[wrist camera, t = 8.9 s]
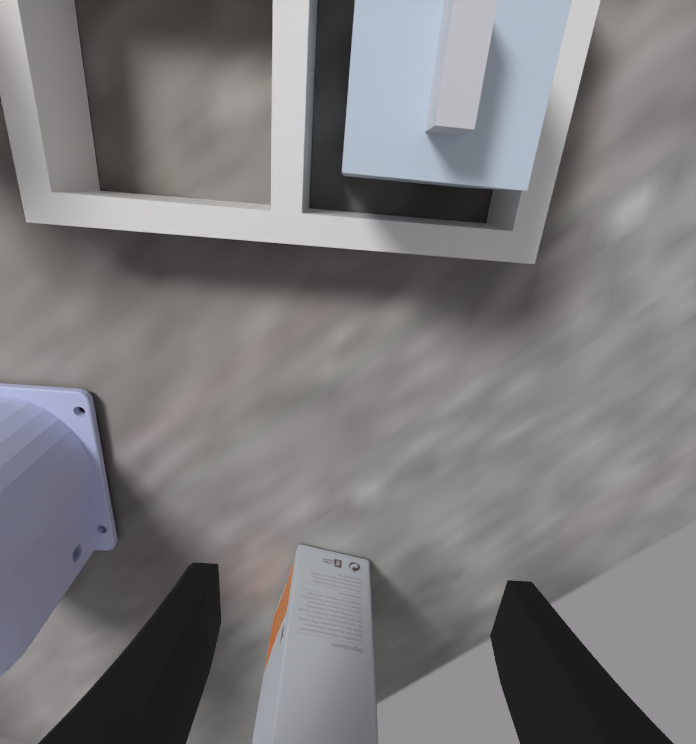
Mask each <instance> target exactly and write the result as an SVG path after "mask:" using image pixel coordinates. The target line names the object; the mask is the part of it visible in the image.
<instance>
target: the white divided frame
mask: <svg viewBox="0 0 696 744" xmlns="http://www.w3.org/2000/svg"><path fill="white" fill-rule="evenodd" d="M317 4H318V0H273V32H272V146H271V205H265V204H254V203H242V202H230V201H219V200H207V199H195V198H183V197H172V196H160V195H148V194H137V193H125V192H113V191H102V190H100V185H99V178H98V171H97V163H96V156H95V149H94V141H93V134H92V127H91V120H90V112H89V105H88V98H87V90H86V83H85V76H84V68H83V61H82V54H81V46H80V39H79V32H78V24H77V17H76V10H75V2H74V0H0V97H1V102H2V107H3V112H4V116H5V121H6V126H7V131H8V136H9V141H10V146H11V151H12V155H13V160H14V165H15V170H16V175H17V180H18V185H19V190H20V194H21V199H22V204H23V209H24V214H25V219H26V222H29V223H41V224H53V225H65V226H77V227H89V228H102V229H114V230H126V231H138V232H150V233H162V234H174V235H186V236H199V237H211V238H223V239H235V240H247V241H259V242H271V243H283V244H296V245H308V246H320V247H332V248H344V249H356V250H368V251H380V252H393V253H405V254H417V255H429V256H441V257H453V258H465V259H477V260H490V261H502V262H514V263H526V264H535V261H536V257H537V253H538V249H539V245H540V241H541V237H542V233H543V229H544V225H545V221H546V217H547V213H548V209H549V205H550V201H551V197H552V193H553V189H554V185H555V181H556V177H557V173H558V169H559V165H560V160H561V156H562V152H563V148H564V144H565V140H566V136H567V132H568V128H569V124H570V120H571V116H572V112H573V108H574V104H575V100H576V96H577V92H578V88H579V84H580V80H581V76H582V72H583V68H584V64H585V60H586V56H587V52H588V48H589V44H590V40H591V36H592V32H593V28H594V24H595V20H596V16H597V12H598V8H599V4H600V0H572V2H571V6H570V11H569V15H568V19H567V23H566V28H565V32H564V36H563V40H562V45H561V49H560V53H559V57H558V62H557V66H556V70H555V74H554V79H553V83H552V87H551V91H550V96H549V100H548V104H547V108H546V113H545V117H544V121H543V125H542V129H541V134H540V138H539V142H538V146H537V151H536V155H535V159H534V163H533V168H532V172H531V176H530V180H529V185H528V189H527V191H519V190H500V189H493V191H492V196H491V201H490V206H489V211H488V216H487V221H486V223H476V222H464V221H453V220H441V219H429V218H417V217H406V216H394V215H382V214H371V213H359V212H347V211H336V210H324V209H312V208H309V196H310V172H311V148H312V124H313V100H314V76H315V52H316V28H317Z"/></svg>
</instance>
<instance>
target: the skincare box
mask: <svg viewBox="0 0 696 744" xmlns="http://www.w3.org/2000/svg"><path fill="white" fill-rule="evenodd" d="M252 744H378V726H377V705H376V688H375V668H374V647H373V624H372V602H371V584H370V564H369V561H368V560H366V559H362V558H358V557H354V556H350V555H345V554H341V553H337V552H332V551H328V550H323V549H319V548H315V547H311V546H307V545H299V546H298V547H297V550H296V554H295V557H294V560H293V563H292V566H291V569H290V572H289V575H288V578H287V581H286V584H285V587H284V589H283V592H282V595H281V597H280V600H279V602H278V605H277V608H276V610H275V613H274V618H273V624H272V630H271V635H270V641H269V646H268V652H267V658H266V664H265V670H264V675H263V681H262V687H261V692H260V698H259V704H258V710H257V716H256V722H255V727H254V733H253V739H252Z"/></svg>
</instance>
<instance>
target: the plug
mask: <svg viewBox="0 0 696 744" xmlns="http://www.w3.org/2000/svg"><path fill="white" fill-rule="evenodd" d="M571 2H572V0H355V6H354V19H353V32H352V45H351V58H350V71H349V84H348V97H347V110H346V123H345V137H344V150H343V163H342V174H343V176H347V177H358V178H368V179H378V180H388V181H398V182H408V183H418V184H428V185H439V186H449V187H460V188H480V189H500V190H519V191H527V189H528V185H529V180H530V176H531V172H532V168H533V163H534V159H535V155H536V151H537V146H538V142H539V138H540V134H541V129H542V125H543V121H544V117H545V113H546V108H547V104H548V100H549V96H550V91H551V87H552V83H553V79H554V74H555V70H556V66H557V62H558V57H559V53H560V49H561V45H562V40H563V36H564V32H565V28H566V23H567V19H568V15H569V11H570V6H571Z"/></svg>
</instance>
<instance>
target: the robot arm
mask: <svg viewBox="0 0 696 744" xmlns="http://www.w3.org/2000/svg"><path fill="white" fill-rule="evenodd" d="M79 407H82V408H83V409H84V410H85V412H82V411H81V410H80V409H79ZM103 526H104V527H105V528H104V527H103ZM116 543H117V534H116V529H115V523H114V517H113V511H112V506H111V500H110V494H109V488H108V483H107V477H106V471H105V465H104V459H103V454H102V448H101V442H100V436H99V431H98V425H97V419H96V413H95V408H94V402H93V398H92V395H91V394H90V393H89V392H87V391H86V390H83V389H77V388H62V387H48V386H34V385H19V384H5V383H0V676H2V675H3V674H4V673H5V672H6V671H7V670H8V669H9V668H10V667H11V666H12V665H13V664H14V663H15V662H16V661H17V660H18V659H19V658H20V657H21V656H22V654H23V653H24V652H25V651H26V649H27V648H28V647H29V645H30V644H31V642H32V641H33V640H34V638H35V637H36V635H37V634H38V632H39V631H40V629H41V628H42V626H43V625H44V623H45V622H46V621H47V619H48V618H49V616H50V615H51V613H52V612H53V610H54V609H55V607H56V606H57V604H58V603H59V602H60V600H61V599H62V597H63V596H64V594H65V593H66V591H67V590H68V588H69V587H70V585H71V584H72V583H73V581H74V580H75V578H76V577H77V575H78V574H79V572H80V571H81V569H82V568H83V566H84V565H85V564H86V562H87V561H88V559H89V558H90V556H91V555H92V553H93V552H94V550H105V551H107V550H111V549H113V548H114V547H115V545H116ZM220 625H221V609H220V590H219V571H218V564H208V563H192V564H191V565H189V566H188V568H187V569H186V571H185V572H184V574H183V575H182V576H181V578H180V579H179V581H178V582H177V583H176V585H175V586H174V588H173V589H172V590H171V592H170V593H169V594H168V596H167V597H166V598H165V600H164V601H163V602H162V604H161V605H160V606H159V608H158V609H157V610H156V612H155V613H154V614H153V615H152V617H151V618H150V619H149V620H148V622H147V623H146V624H145V625H144V627H143V628H142V629H141V630H140V632H139V633H138V634H137V635H136V637H135V638H134V639H133V640H132V642H131V643H130V644H129V645H128V646H127V648H126V649H125V650H124V651H123V652H122V654H121V655H120V656H119V657H118V658H117V659H116V660H115V662H114V663H113V664H112V665H111V666H110V667H109V668H108V670H107V671H106V672H105V673H104V674H103V675H102V676H101V678H100V679H99V680H98V681H97V682H96V683H95V684H94V686H93V687H92V688H91V689H90V690H89V691H88V692H87V693H86V694H85V695H84V697H83V698H82V699H81V700H80V701H79V702H78V703H77V704H76V705H75V706H74V707H73V708H72V709H71V710H70V711H69V713H68V714H67V715H66V716H65V717H64V718H63V719H62V720H61V721H60V722H59V723H58V724H57V725H56V726H55V727H54V728H53V729H52V730H51V731H50V732H49V733H48V734H47V735H46V736H45V737H44V738H43V739H42V740H41V741H40V742H39V743H38V744H186V741H187V738H188V735H189V732H190V729H191V726H192V723H193V720H194V717H195V714H196V711H197V708H198V705H199V702H200V699H201V696H202V693H203V690H204V687H205V684H206V681H207V678H208V675H209V671H210V668H211V664H212V660H213V656H214V651H215V647H216V643H217V638H218V634H219V629H220ZM490 636H491V641H492V646H493V651H494V656H495V661H496V665H497V670H498V673H499V678H500V682H501V686H502V689H503V692H504V695H505V698H506V702H507V705H508V708H509V711H510V714H511V717H512V720H513V723H514V726H515V729H516V732H517V735H518V738H519V741H520V744H673V743H672V742H671V741H670V740H669V739H668V737H666V736H665V734H664V733H663V732H662V731H661V730H660V729H658V727H657V726H656V725H655V724H654V723H653V722H652V721H651V720H650V719H649V718H648V717H647V716H646V715H645V713H644V712H642V710H641V709H640V708H639V707H638V706H637V705H636V704H635V703H634V702H633V701H632V700H631V698H630V697H629V696H628V695H627V694H626V693H625V692H624V691H623V690H622V689H621V687H619V685H618V684H617V683H616V682H615V681H614V680H613V678H612V677H611V676H610V675H609V674H608V673H607V672H606V670H604V668H603V667H602V666H601V665H600V663H599V662H598V661H597V660H596V659H595V658H594V657H593V656H592V654H591V653H590V652H589V651H588V650H587V648H586V647H585V646H584V645H583V644H582V642H581V641H580V640H579V639H578V638H577V637H576V635H575V634H574V633H573V632H572V630H571V629H570V628H569V627H568V626H567V624H566V623H565V622H564V621H563V619H562V618H561V617H560V616H559V615H558V613H557V612H556V611H555V610H554V608H553V607H552V606H551V605H550V604H549V602H548V601H547V600H546V599H545V597H544V596H543V595H542V594H541V593H540V591H539V590H538V589H537V588H536V586H535V585H534V584H533V583H532V582H526V581H507V584H506V587H505V591H504V594H503V597H502V600H501V603H500V606H499V610H498V613H497V616H496V619H495V622H494V626H493V629H492V632H491V635H490Z"/></svg>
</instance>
